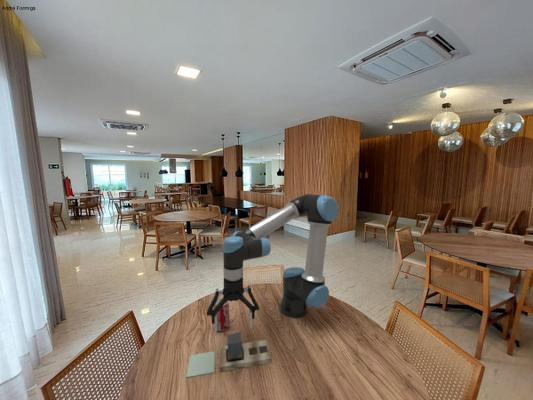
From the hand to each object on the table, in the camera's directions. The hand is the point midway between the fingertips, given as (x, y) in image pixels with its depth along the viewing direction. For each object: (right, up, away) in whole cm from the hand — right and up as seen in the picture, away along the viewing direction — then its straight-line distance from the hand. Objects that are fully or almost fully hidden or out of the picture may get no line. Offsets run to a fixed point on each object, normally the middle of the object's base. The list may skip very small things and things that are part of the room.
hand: (233, 328), depth 86 cm
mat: (-12, -14, -1) cm, 18 cm away
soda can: (-9, -12, +20) cm, 25 cm away
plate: (+4, -13, +2) cm, 14 cm away
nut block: (0, -13, +1) cm, 13 cm away
